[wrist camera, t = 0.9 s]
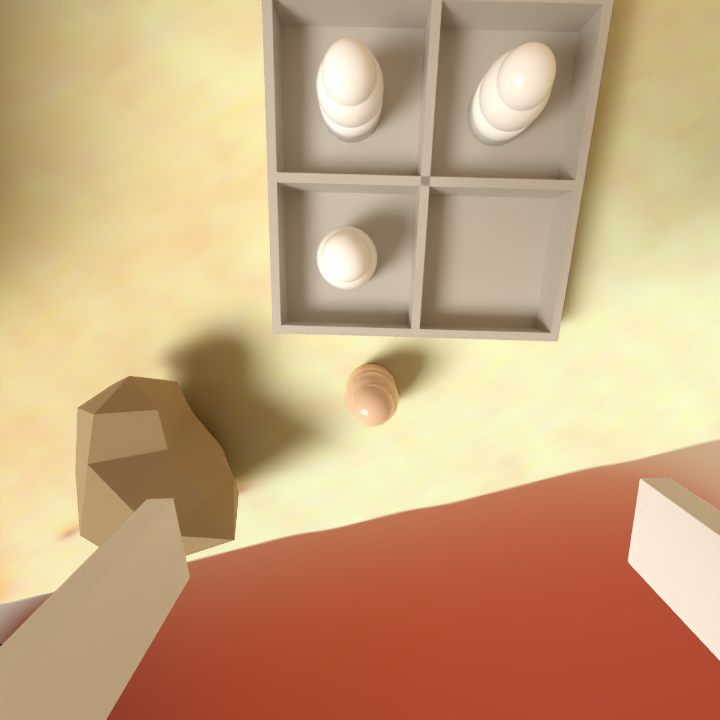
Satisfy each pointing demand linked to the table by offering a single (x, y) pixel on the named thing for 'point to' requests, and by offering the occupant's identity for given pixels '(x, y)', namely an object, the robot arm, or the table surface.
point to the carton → (429, 168)
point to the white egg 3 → (512, 94)
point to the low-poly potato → (151, 464)
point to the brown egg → (371, 395)
